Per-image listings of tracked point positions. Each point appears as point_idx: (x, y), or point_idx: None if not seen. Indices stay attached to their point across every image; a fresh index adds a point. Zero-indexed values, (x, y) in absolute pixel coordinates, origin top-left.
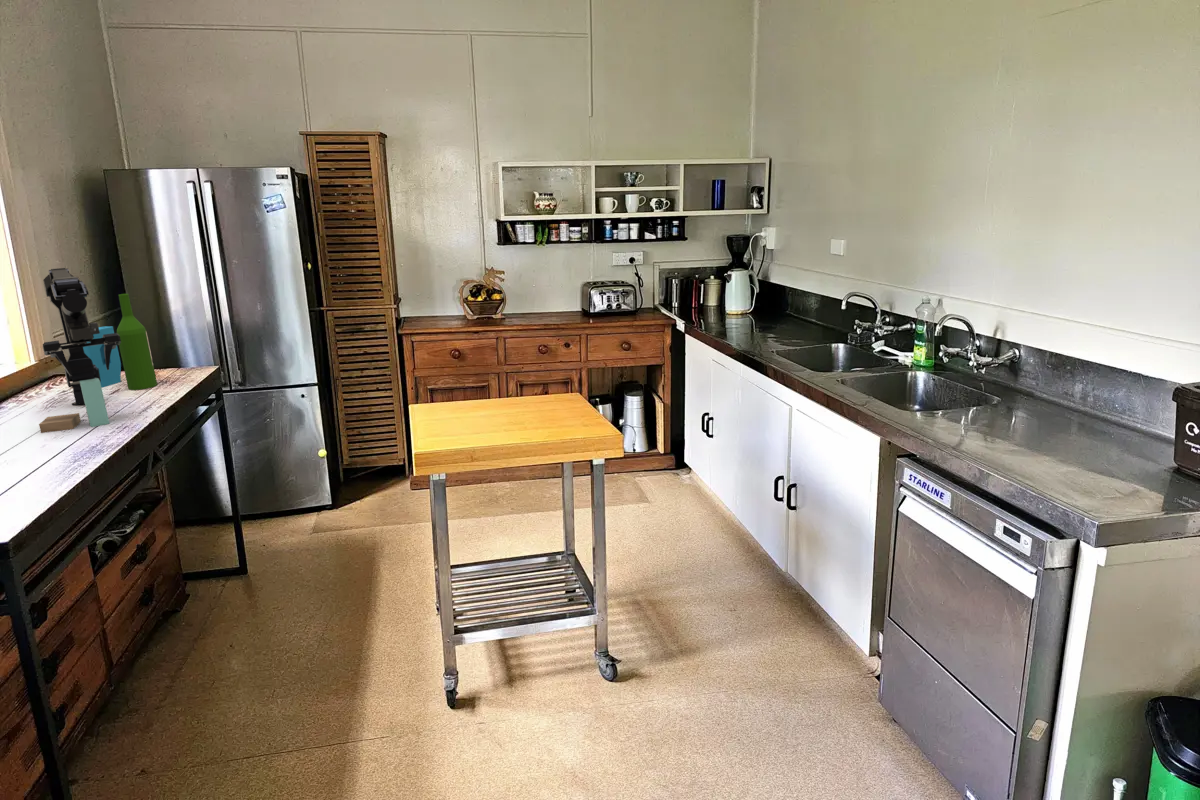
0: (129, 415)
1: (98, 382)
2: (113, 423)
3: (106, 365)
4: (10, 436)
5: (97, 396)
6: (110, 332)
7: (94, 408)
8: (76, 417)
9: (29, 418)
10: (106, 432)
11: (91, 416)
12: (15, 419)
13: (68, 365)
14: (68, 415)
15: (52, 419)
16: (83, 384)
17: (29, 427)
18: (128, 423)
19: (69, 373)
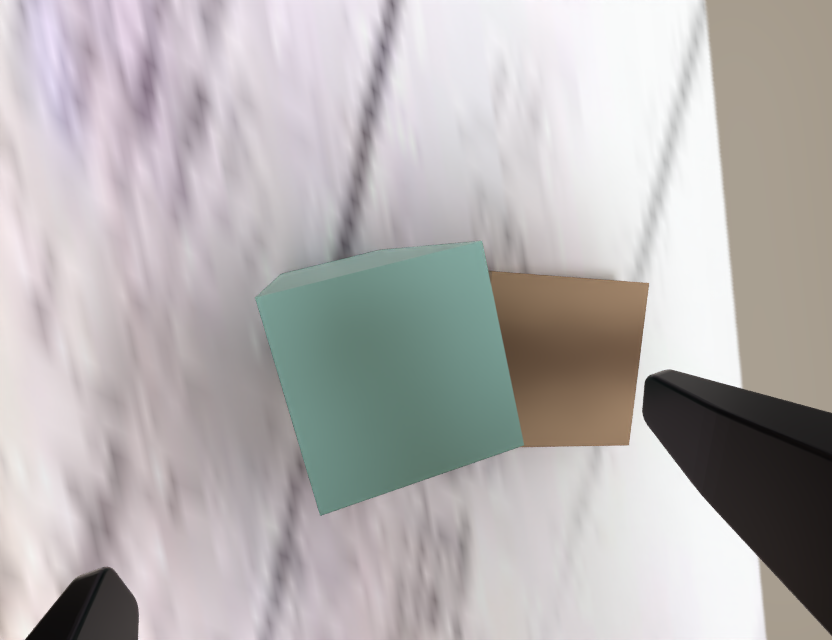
0: (186, 434)
1: (278, 289)
2: (256, 264)
3: (74, 636)
4: (729, 296)
5: (320, 271)
6: None
7: (354, 259)
8: None
9: (696, 624)
10: (258, 29)
11: (376, 252)
12: (745, 631)
13: (825, 454)
14: (527, 418)
15: (597, 362)
16: (453, 249)
17: None
18: (148, 200)
19: (692, 377)
